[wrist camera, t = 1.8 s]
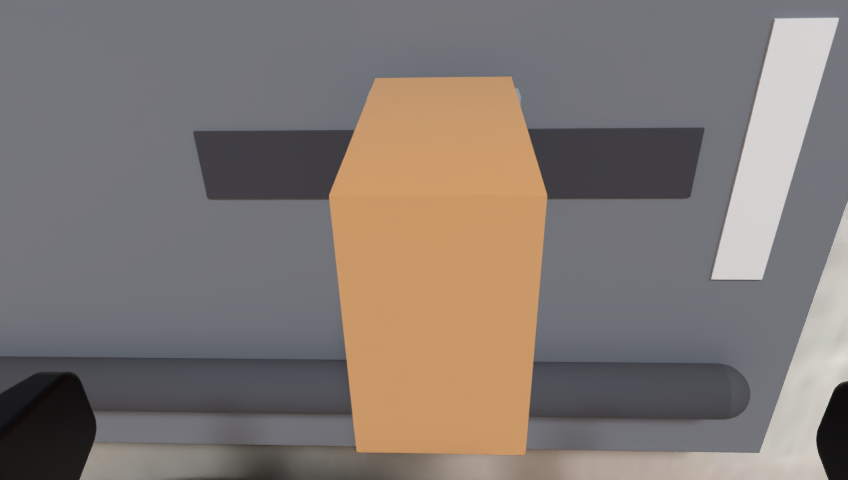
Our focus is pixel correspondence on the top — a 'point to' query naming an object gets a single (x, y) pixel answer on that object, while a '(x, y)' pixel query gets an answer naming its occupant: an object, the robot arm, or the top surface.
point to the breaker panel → (324, 152)
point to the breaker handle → (440, 266)
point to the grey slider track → (330, 393)
